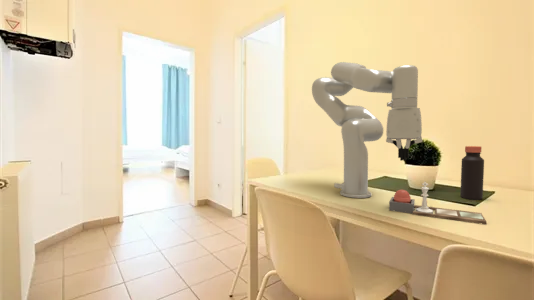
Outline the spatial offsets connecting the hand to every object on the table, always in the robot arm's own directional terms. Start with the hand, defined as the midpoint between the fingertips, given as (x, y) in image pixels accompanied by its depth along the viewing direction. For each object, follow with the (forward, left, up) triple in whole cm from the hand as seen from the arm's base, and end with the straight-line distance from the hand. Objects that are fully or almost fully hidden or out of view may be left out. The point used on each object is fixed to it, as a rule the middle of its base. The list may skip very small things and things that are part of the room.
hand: (403, 160), depth 87 cm
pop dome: (0, 0, -15) cm, 15 cm away
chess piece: (+6, 0, -17) cm, 18 cm away
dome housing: (0, 0, -17) cm, 17 cm away
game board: (+12, 0, -17) cm, 21 cm away
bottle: (+21, +29, -17) cm, 40 cm away
